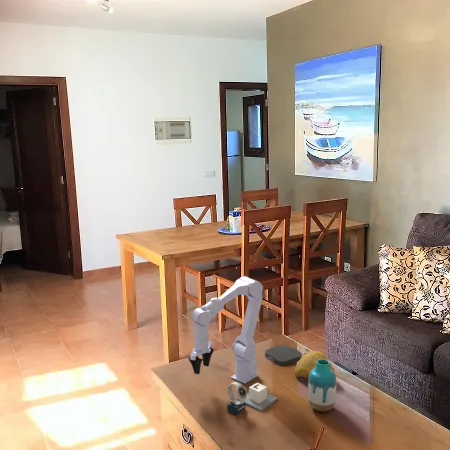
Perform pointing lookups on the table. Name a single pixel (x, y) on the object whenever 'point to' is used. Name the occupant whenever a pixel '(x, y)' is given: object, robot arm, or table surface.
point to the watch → (236, 404)
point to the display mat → (262, 404)
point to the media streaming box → (283, 355)
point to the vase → (322, 386)
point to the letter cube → (257, 393)
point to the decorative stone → (308, 363)
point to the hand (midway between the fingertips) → (201, 369)
